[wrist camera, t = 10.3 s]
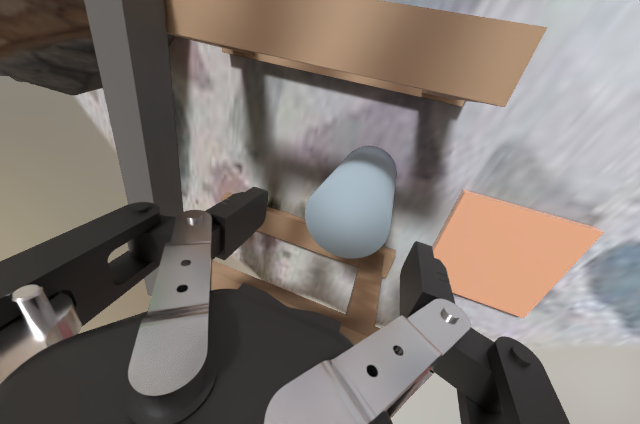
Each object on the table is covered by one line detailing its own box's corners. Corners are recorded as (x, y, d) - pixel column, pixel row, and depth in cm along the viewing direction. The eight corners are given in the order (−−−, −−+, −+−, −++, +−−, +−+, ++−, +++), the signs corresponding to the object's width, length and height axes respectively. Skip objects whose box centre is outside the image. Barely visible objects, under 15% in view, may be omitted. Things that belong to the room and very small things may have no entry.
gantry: (480, 60, 17) (571, 18, 8) (386, 271, 27) (375, 367, 17) (229, 11, 20) (83, -57, 11) (227, 214, 30) (148, 267, 21)
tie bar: (160, -37, 10) (111, -63, 9) (190, 286, 20) (169, 304, 18) (123, -43, 11) (69, -69, 9) (169, 277, 20) (147, 294, 18)
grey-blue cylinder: (404, 154, 21) (404, 197, 12) (386, 205, 23) (374, 269, 15) (349, 139, 22) (313, 169, 13) (336, 189, 24) (299, 242, 16)
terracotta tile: (596, 227, 19) (603, 232, 18) (520, 311, 24) (523, 318, 23) (462, 189, 21) (465, 192, 20) (417, 275, 26) (417, 279, 25)
